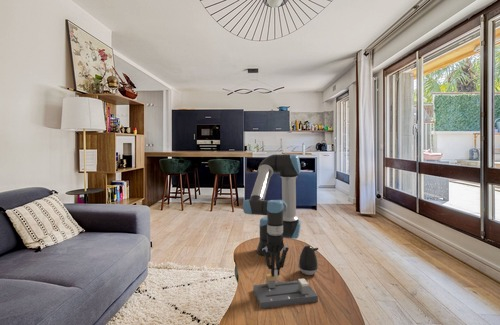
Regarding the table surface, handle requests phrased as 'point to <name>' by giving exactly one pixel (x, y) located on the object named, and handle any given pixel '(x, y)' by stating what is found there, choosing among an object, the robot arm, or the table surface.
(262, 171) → the robot arm
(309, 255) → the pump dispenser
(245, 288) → the table surface
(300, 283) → the block
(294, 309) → the table surface
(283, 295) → the console
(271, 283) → the amber fader
